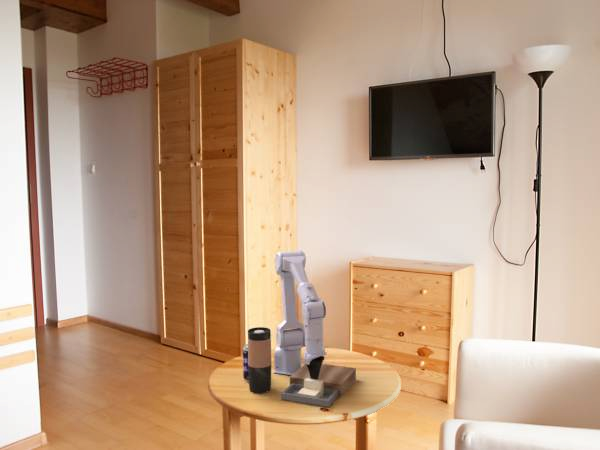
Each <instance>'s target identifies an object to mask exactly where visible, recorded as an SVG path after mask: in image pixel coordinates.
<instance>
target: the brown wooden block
mask: <svg viewBox="0 0 600 450" xmlns="http://www.w3.org/2000/svg"><path fill="white" fill-rule="evenodd" d="M356 372H357V369H356V367H349V366H342V365H334V364H327V363H322V365H321V368H320V373H319V378H318V380H322V381H323V384H324V388H328V389H335V390H338V397H341V398H342V397H343V396H344V394H345V393H346V392H347V391H348V390H349V389H350V387H351V386H352V385H353V384H354V382H355V381H356V380H357V378H356V377H357V373H356ZM306 378H309V379H311V378H310V374H309V370H308V367H307V365H306V364H302V365H301V368H300V369H299V370H298V371H296V372H295V373H294V374H293V375H289V386H290V385H291V384H292V383H295V384H301V385H304V380H305V379H306Z"/></svg>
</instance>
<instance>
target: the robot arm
mask: <svg viewBox="0 0 600 450" xmlns="http://www.w3.org/2000/svg"><path fill="white" fill-rule="evenodd" d="M306 260H307V257H306V254H305V253H304V250H295V251H294V250H293V251H278V252H277V253H276V254H275V259H274V263H275V272H276V275H278V276H279V277H280V285H281V298H282V299H281V300H282V301H281V302H282V314H283V321H282V322H281V323H279V324H278V325H277V327H276V334H275V337H276V338H275V339H276V340H275V341H276V344H277V346H276V347H275V349H274V353H273V358H274V359H273V361H274V362H273V363H274V365H273V367H274V369H273V373H274V374H280V375H287V376H292V375H293V374H294V373H295V372H296V371H298V370H299V369H300V368H301V367H302V365H305V364H306V365H307V367H308V370H309V374H310V378H311V379H315V380H318V378H319V373H320V368H321V365H322V364H324V361H325V356H326V355H327V351H326V346H325V345H324V327H323V326H324V319H325V318H326V315H327V307H326V304H325V303H326V302H325V301H324V300H322V299H321V298H320V297H319V296H318V294H317V291H316V289H315V287H314V285H313V284H312V283H310V282H309V280H308V276H307V273H306V270H305V268H306V262H307V261H306ZM295 283H296V284H297V286H298V287H297V290H296V288H295V285H296V284H295ZM296 292H297V295H298V297H299V300H300V302H301V304H302V309H301V313H302V317H303V323H302V322H300V321H299V320H298V315H297V302H296V300H297V299H296ZM304 346H305V347H304ZM303 348H305V351H304V355H303V358H302V349H303Z"/></svg>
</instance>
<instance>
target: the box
mask: <svg viewBox="0 0 600 450" xmlns="http://www.w3.org/2000/svg"><path fill="white" fill-rule="evenodd" d="M302 388H304V385H301V384H295V383H292V384H291V385H290V384H289V385H288V386H287V387H286V388H285V389H284V390H283V391H281V393H280V400H281V401H284V402H291V403H296V404H297V403H298V404H303V405H309V406H316V407H321V408H326V409H327V408H330V407H331V406H332V405H333V404H334V403H335V401H336V400H337V399H338V398H339V396H338V390H335V389H328V388H324V394H323V396H322V397H319V398H315V397H309V396H302V395H297V393H298V392H299V391H300V390H301V389H302Z"/></svg>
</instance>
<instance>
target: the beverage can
mask: <svg viewBox="0 0 600 450" xmlns="http://www.w3.org/2000/svg"><path fill="white" fill-rule="evenodd" d="M242 369H243V371H242V374H243V379H244V380H245V381H246V380H247V381H246V382H249V370H248V343H246V344H245V345H244V346H243V349H242Z"/></svg>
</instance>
